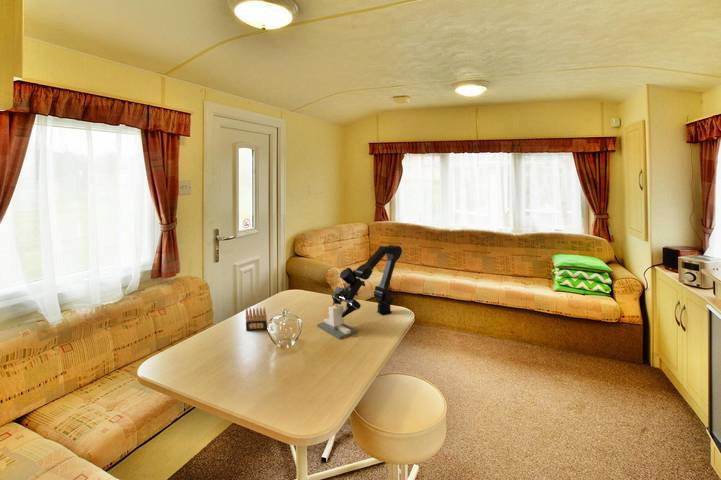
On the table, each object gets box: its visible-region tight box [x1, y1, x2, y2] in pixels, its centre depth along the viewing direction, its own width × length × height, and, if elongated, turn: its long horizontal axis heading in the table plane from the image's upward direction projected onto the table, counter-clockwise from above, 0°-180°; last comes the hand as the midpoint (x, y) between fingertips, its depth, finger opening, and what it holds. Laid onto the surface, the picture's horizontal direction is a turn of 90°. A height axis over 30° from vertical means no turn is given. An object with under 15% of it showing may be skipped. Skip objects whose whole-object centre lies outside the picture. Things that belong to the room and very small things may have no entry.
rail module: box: [328, 304, 345, 330], centre depth 173 cm, size 6×4×12 cm, turn 128°
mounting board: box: [316, 317, 358, 340], centre depth 174 cm, size 20×11×3 cm, turn 39°
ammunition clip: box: [245, 307, 268, 332], centre depth 175 cm, size 11×2×12 cm, turn 93°
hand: (336, 314), depth 173 cm, fingers open, 9 cm apart
